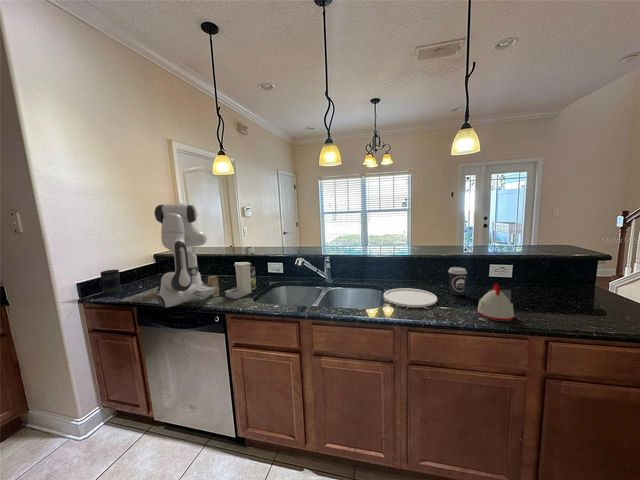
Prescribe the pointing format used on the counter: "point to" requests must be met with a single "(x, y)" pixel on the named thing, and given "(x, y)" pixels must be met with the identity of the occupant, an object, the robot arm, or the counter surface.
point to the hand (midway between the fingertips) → (211, 286)
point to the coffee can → (252, 277)
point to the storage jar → (110, 282)
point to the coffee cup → (457, 280)
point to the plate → (410, 297)
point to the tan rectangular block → (213, 282)
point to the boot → (241, 281)
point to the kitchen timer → (496, 305)
